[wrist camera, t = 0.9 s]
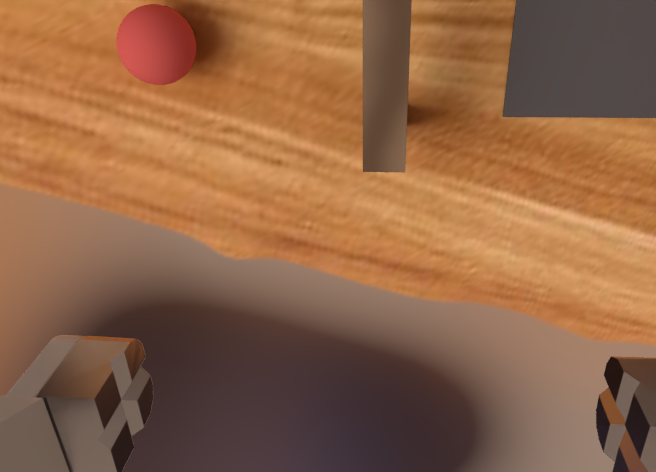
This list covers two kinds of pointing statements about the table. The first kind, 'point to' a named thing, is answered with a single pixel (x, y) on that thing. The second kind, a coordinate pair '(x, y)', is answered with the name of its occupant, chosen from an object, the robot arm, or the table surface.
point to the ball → (156, 44)
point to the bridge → (385, 84)
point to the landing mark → (582, 59)
